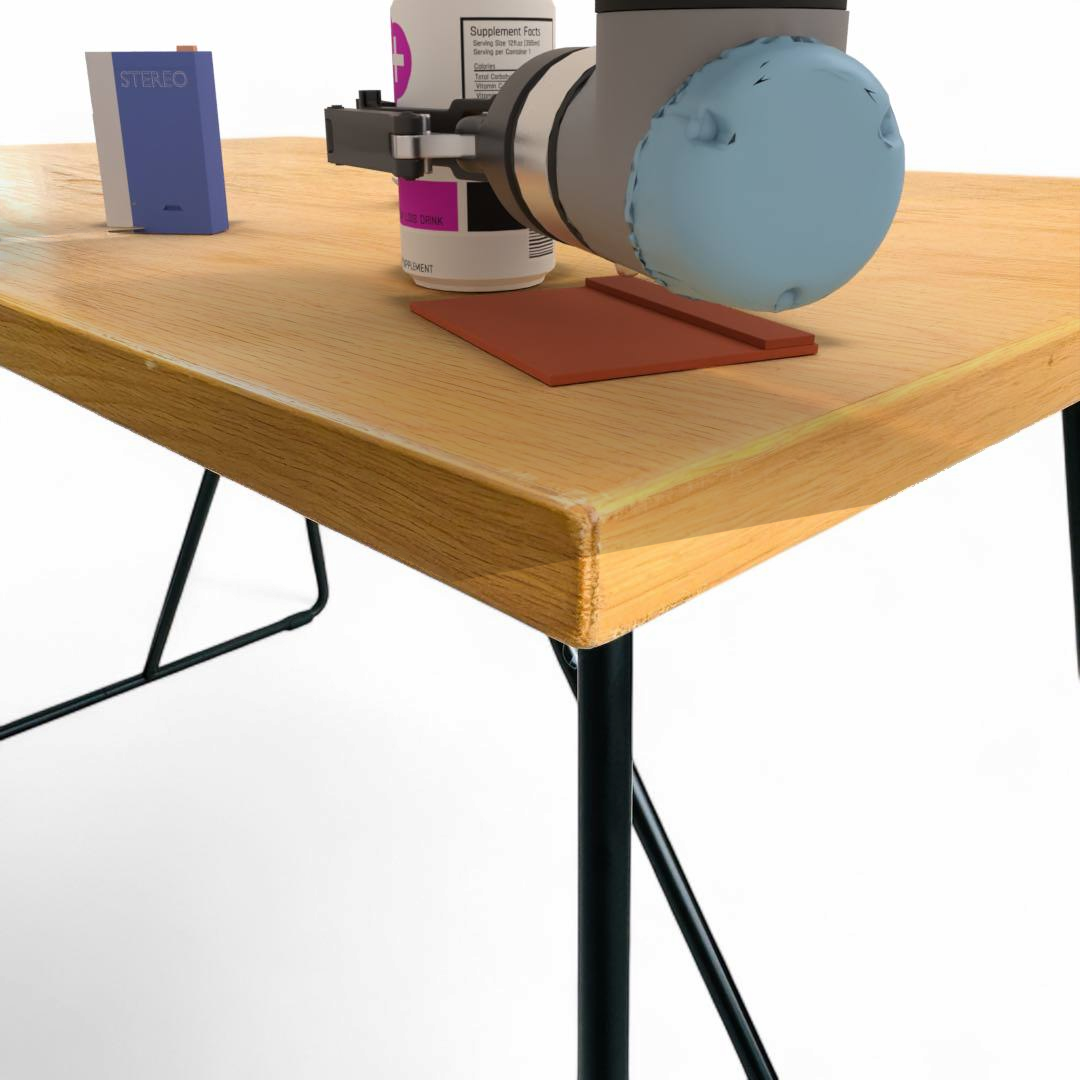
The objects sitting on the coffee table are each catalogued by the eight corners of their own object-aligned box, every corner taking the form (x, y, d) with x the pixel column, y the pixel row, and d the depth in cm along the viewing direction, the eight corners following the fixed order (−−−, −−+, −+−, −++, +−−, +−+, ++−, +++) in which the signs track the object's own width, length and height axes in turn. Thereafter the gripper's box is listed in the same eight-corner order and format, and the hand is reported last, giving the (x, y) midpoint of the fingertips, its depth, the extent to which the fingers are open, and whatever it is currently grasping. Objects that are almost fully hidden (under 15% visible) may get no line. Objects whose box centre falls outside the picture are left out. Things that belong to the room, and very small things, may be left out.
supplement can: (386, 292, 62) (369, -30, 57) (423, 266, 70) (411, -20, 64) (542, 296, 61) (541, -32, 56) (563, 269, 69) (563, -22, 63)
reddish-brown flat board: (409, 309, 58) (408, 293, 58) (629, 289, 63) (630, 273, 62) (550, 386, 45) (550, 365, 44) (818, 353, 49) (819, 334, 49)
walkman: (229, 229, 85) (211, 45, 81) (212, 235, 83) (193, 45, 78) (126, 227, 87) (103, 46, 82) (106, 232, 84) (81, 45, 80)
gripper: (325, 266, 45) (257, 202, 65) (841, 236, 51) (635, 186, 71) (309, 47, 42) (243, 50, 62) (857, 44, 48) (638, 48, 68)
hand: (453, 123), depth 66 cm, fingers open, 9 cm apart
